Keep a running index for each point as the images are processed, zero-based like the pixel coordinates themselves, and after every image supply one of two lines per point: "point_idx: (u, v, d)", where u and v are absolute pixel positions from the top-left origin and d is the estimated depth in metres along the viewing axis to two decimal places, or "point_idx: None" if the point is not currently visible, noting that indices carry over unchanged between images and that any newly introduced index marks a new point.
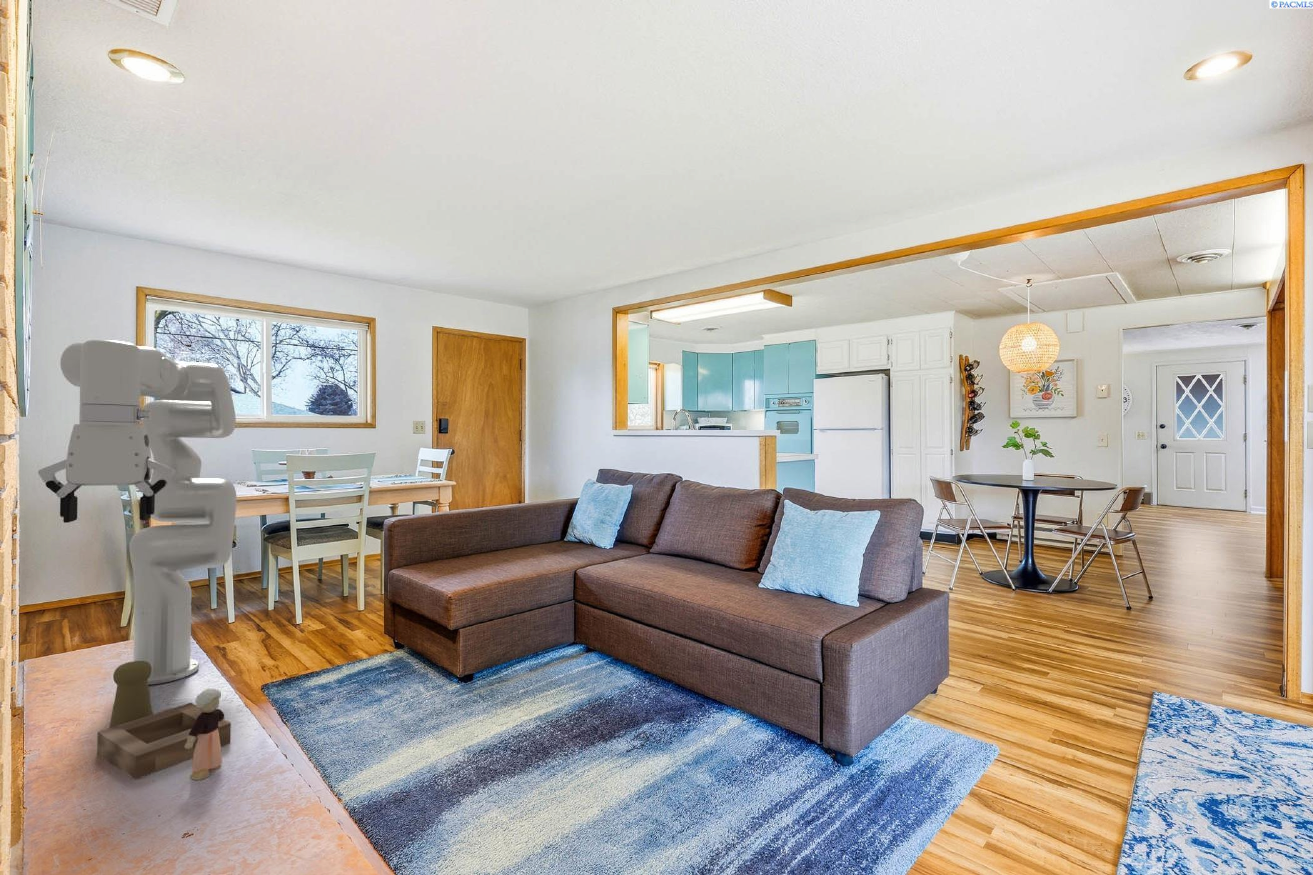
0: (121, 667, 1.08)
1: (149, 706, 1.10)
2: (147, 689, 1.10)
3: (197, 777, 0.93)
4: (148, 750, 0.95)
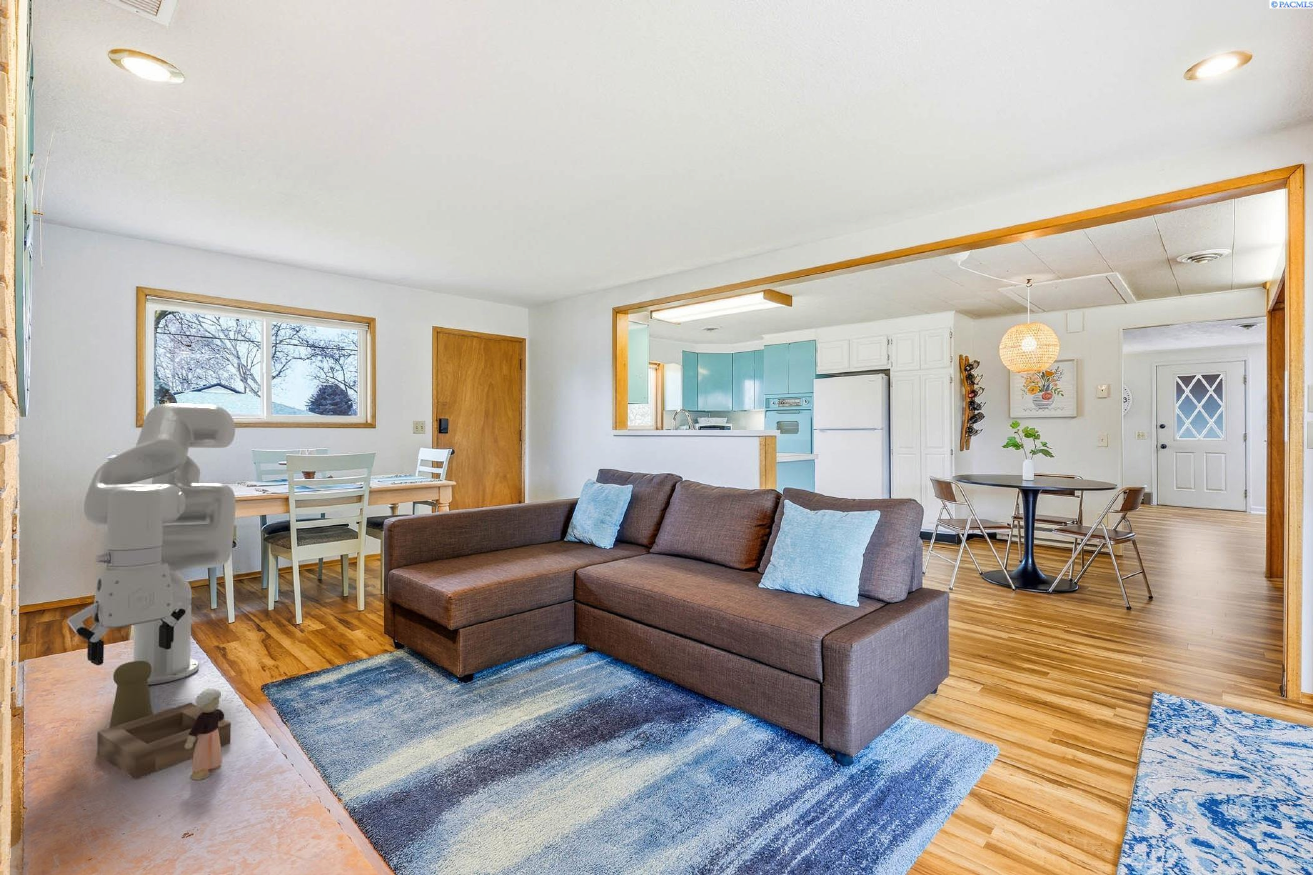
0: (121, 667, 1.08)
1: (149, 706, 1.10)
2: (147, 689, 1.10)
3: (197, 777, 0.93)
4: (148, 750, 0.95)
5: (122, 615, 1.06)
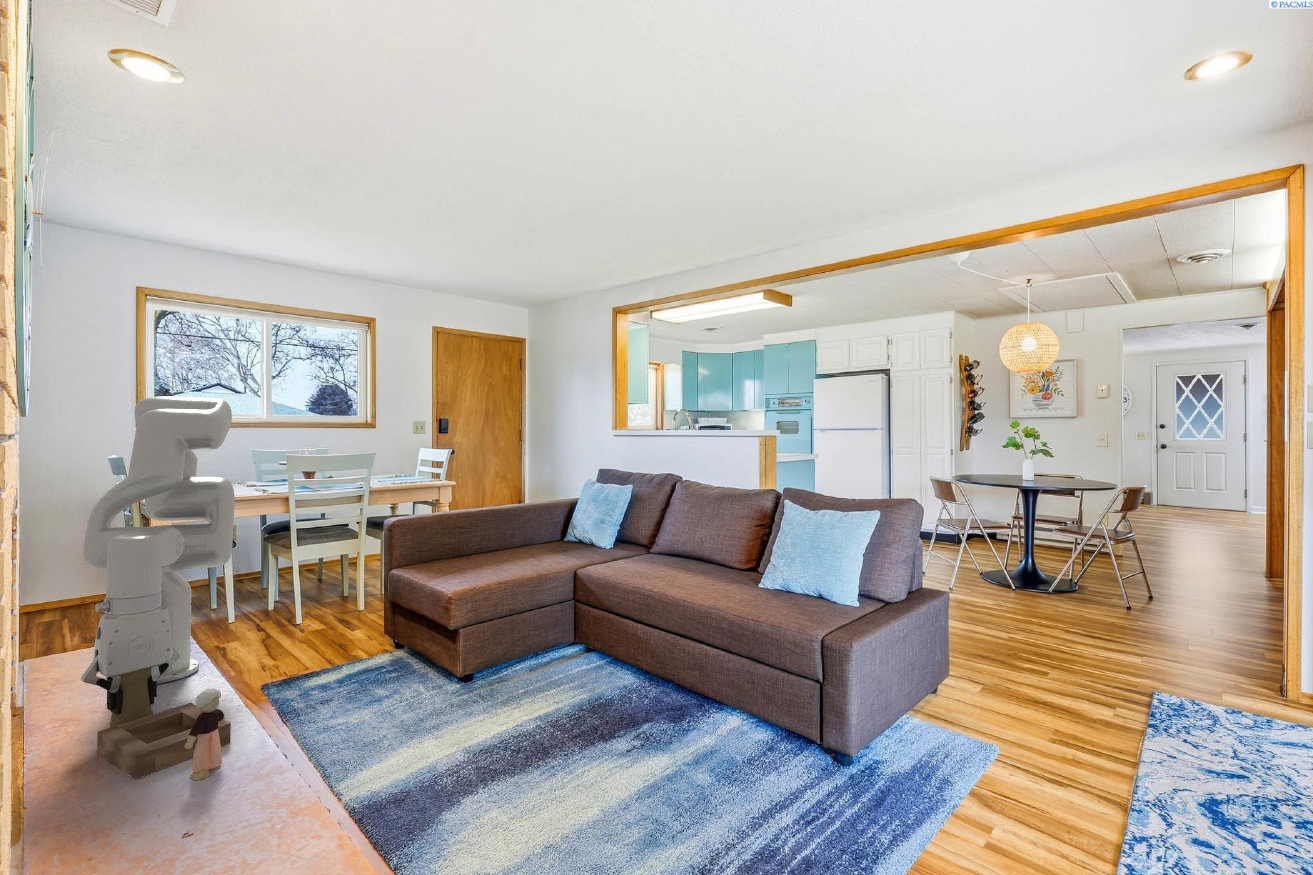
0: None
1: (149, 706, 1.10)
2: (147, 689, 1.10)
3: (197, 777, 0.93)
4: (148, 750, 0.95)
5: (122, 663, 1.06)
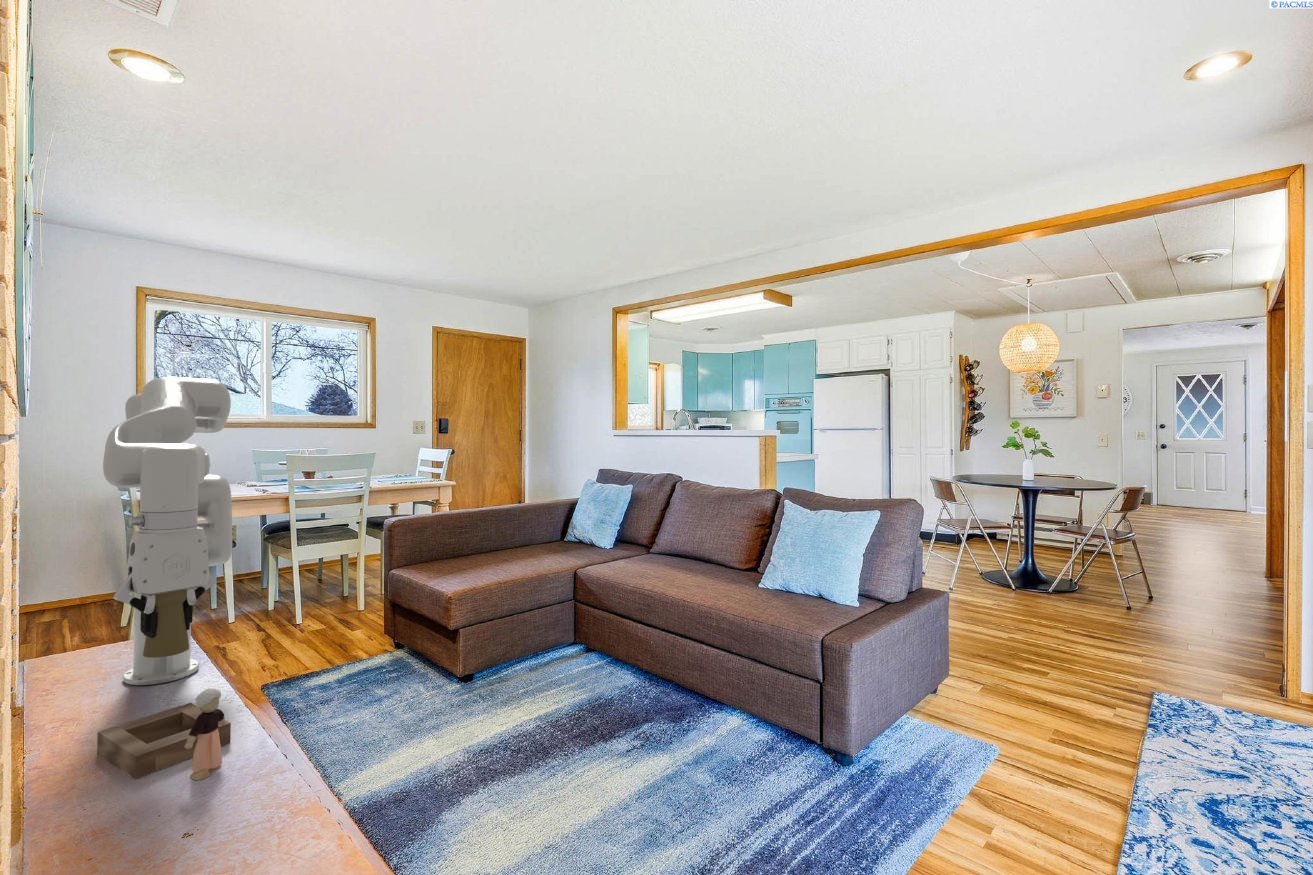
0: None
1: (185, 631, 1.03)
2: (183, 613, 1.03)
3: (197, 777, 0.93)
4: (148, 750, 0.95)
5: (157, 582, 0.99)
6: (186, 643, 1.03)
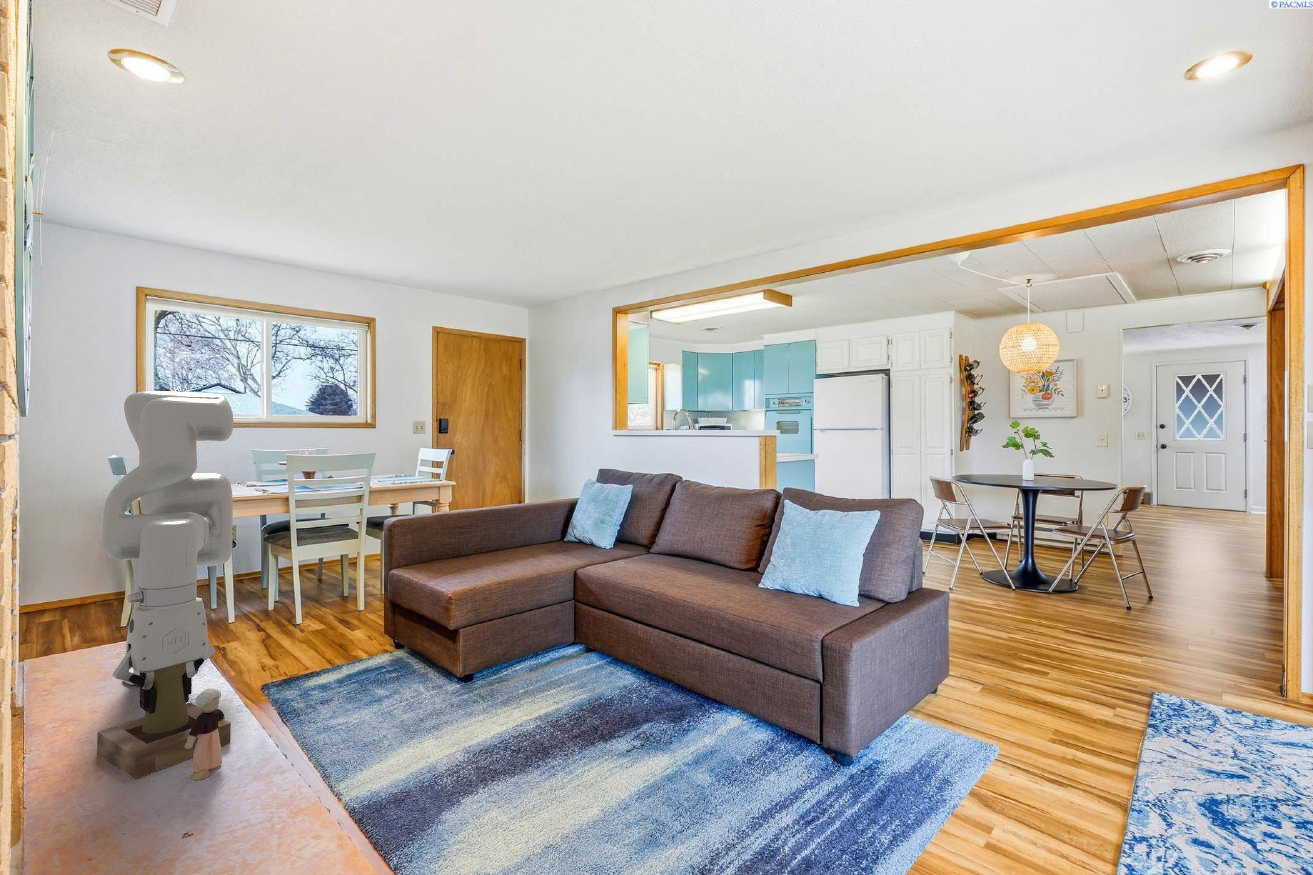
0: None
1: (184, 704, 1.03)
2: (182, 686, 1.03)
3: (197, 777, 0.93)
4: (148, 750, 0.95)
5: (156, 658, 0.99)
6: (185, 716, 1.03)
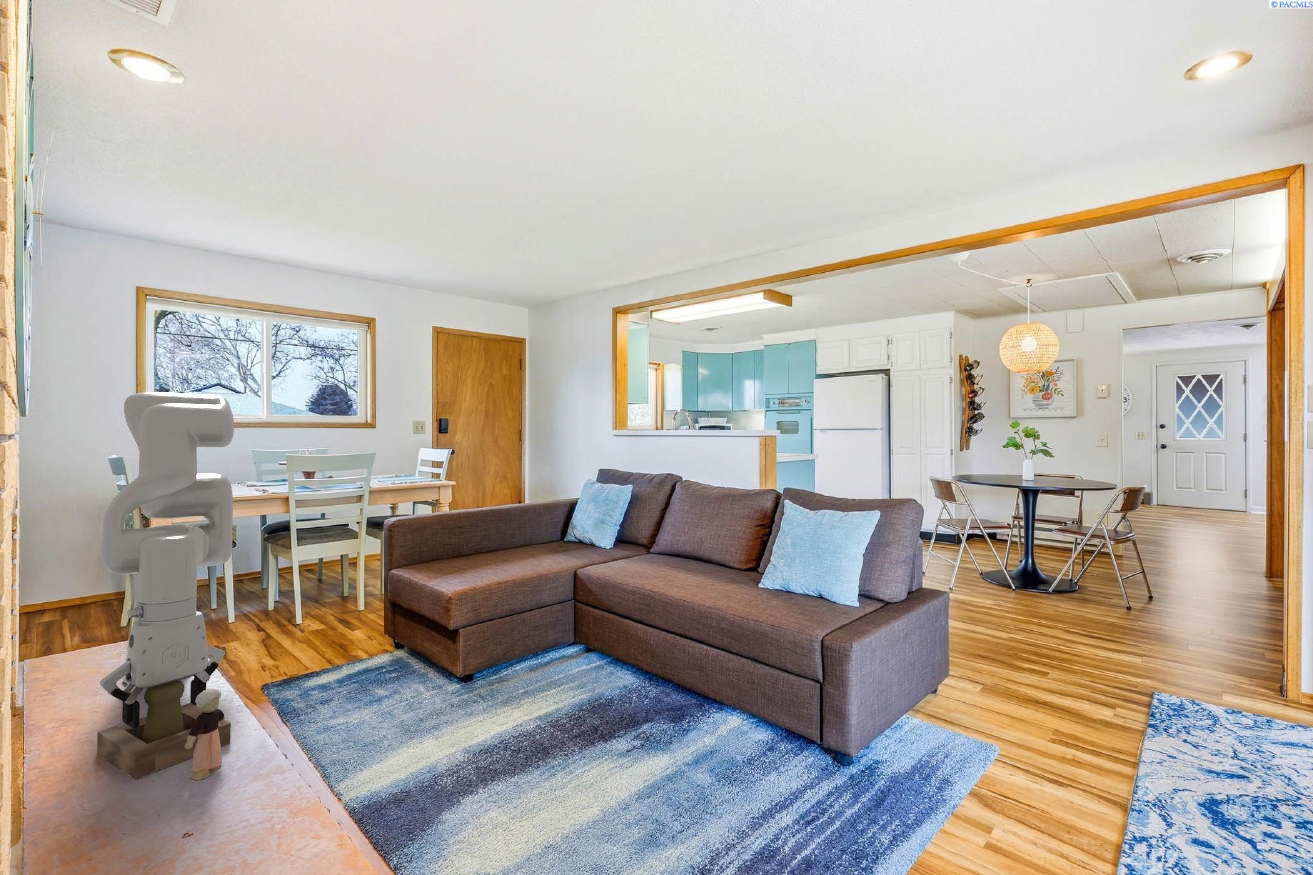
0: (153, 687, 1.01)
1: (182, 728, 1.03)
2: (179, 710, 1.03)
3: (197, 777, 0.93)
4: (148, 750, 0.95)
5: (156, 673, 0.99)
6: None
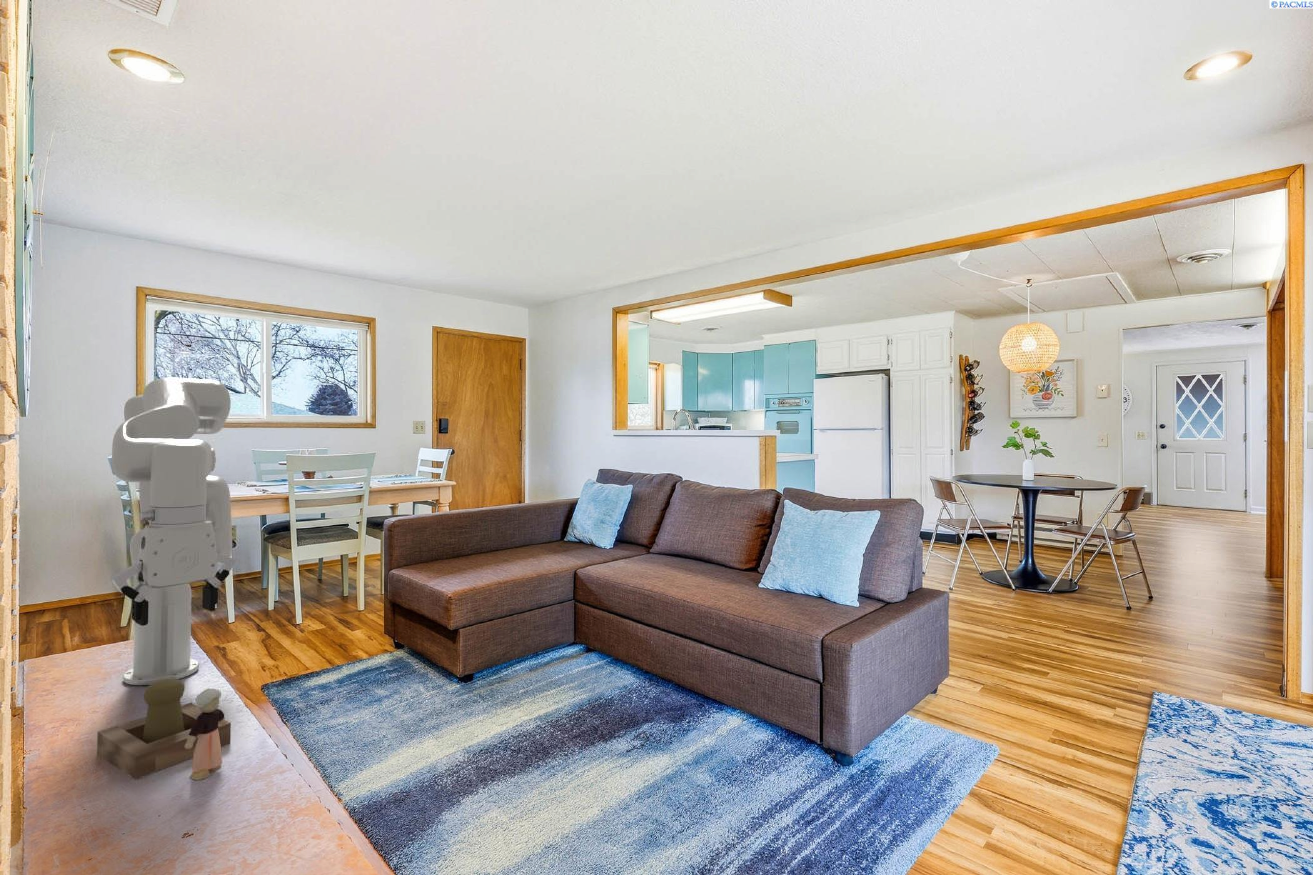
0: (153, 687, 1.01)
1: (182, 728, 1.03)
2: (180, 710, 1.03)
3: (197, 777, 0.93)
4: (148, 750, 0.95)
5: (167, 575, 1.01)
6: None
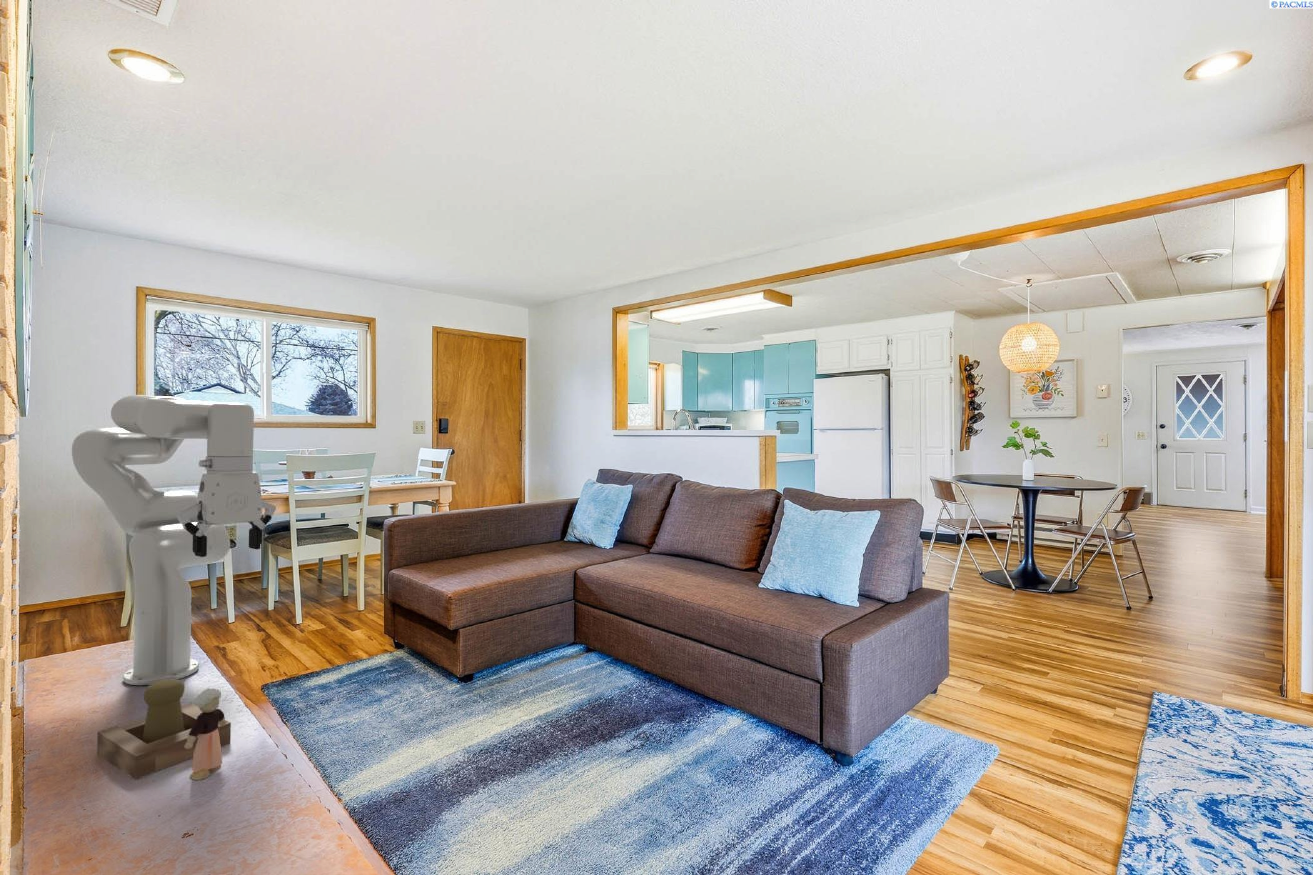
0: (153, 687, 1.01)
1: (182, 728, 1.03)
2: (179, 710, 1.03)
3: (197, 777, 0.93)
4: (148, 750, 0.95)
5: (222, 514, 1.19)
6: None
